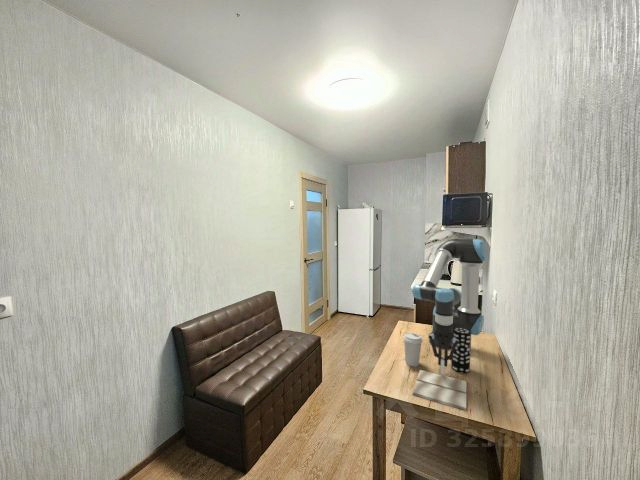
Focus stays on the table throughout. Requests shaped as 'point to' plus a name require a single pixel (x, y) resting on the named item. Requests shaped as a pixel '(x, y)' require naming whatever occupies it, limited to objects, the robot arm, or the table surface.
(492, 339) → the table surface
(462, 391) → the plank
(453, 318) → the robot arm
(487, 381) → the table surface
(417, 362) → the coffee cup
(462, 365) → the spotted tube
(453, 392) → the laid board
